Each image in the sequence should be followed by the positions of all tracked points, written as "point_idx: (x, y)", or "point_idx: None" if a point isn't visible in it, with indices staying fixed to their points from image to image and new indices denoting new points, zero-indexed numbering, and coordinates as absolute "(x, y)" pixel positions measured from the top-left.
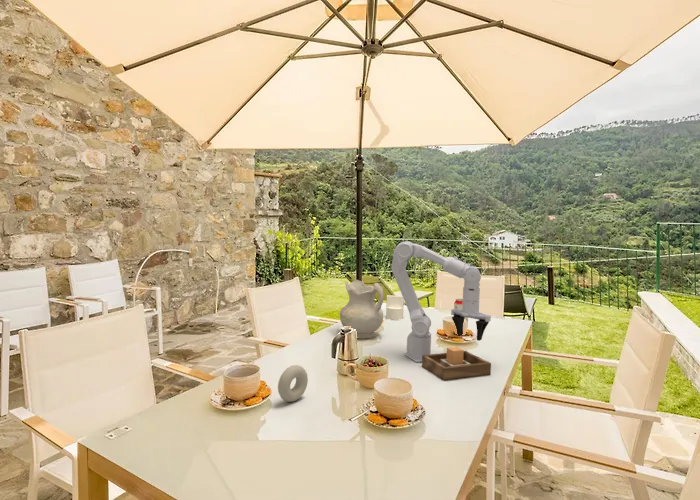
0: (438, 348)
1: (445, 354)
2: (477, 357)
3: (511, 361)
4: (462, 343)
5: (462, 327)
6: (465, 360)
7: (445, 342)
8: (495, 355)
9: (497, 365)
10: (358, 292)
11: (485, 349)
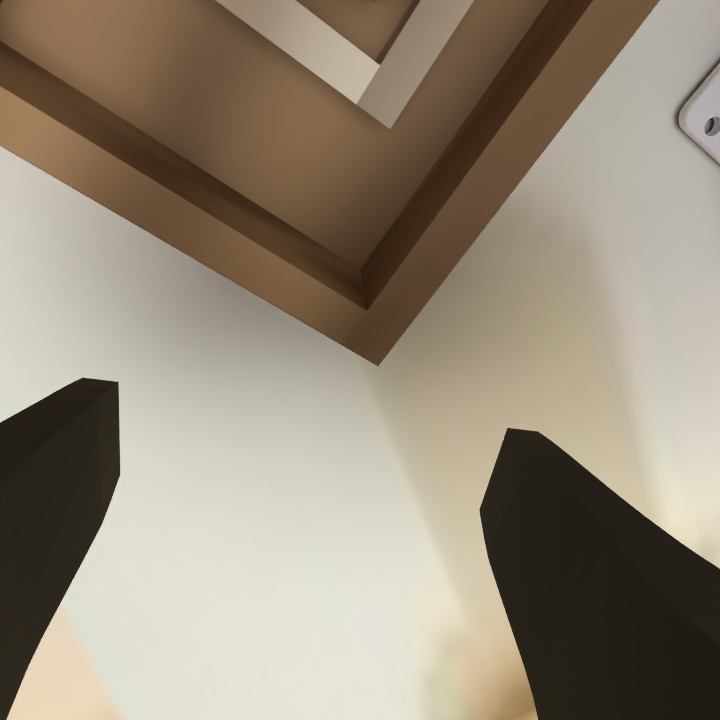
0: (704, 501)
1: (577, 20)
2: (129, 195)
3: None
4: None
5: (525, 643)
6: (344, 264)
7: None
8: (219, 613)
9: None
10: None
11: (343, 682)
